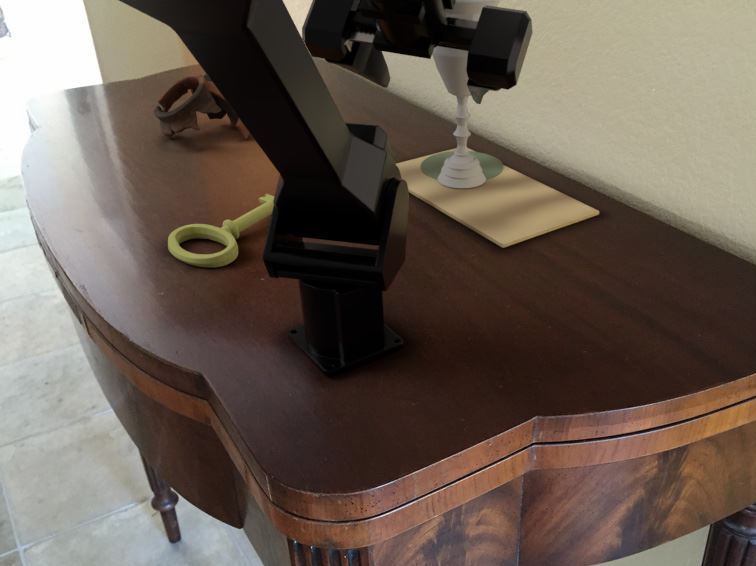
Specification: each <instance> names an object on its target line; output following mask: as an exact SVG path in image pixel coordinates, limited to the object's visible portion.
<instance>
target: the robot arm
mask: <svg viewBox="0 0 756 566" xmlns="http://www.w3.org/2000/svg"><path fill="white" fill-rule="evenodd" d="M118 1H119V2H120V3H123V4H125V5H127V6H128V7H131V8H133V9H134V10H137V11H139V12H141V13H142V14H144V15H146V16H149V17H150V18H153V19H154V20H156V21H158V22H161V23H162V24H164V25H166V26H168V27H169V28H170V29H171V30H172V31H174V33H176V35H177V37H179V39H180V40H181V42H182V43H183V44H184V46H185V47H186V49H187V50H188V51H189V53H190V54H191V55H192V57H193V58H194V60H196V62H197V63H198V65H199V66H200V68H201V69H202V70H203V72H204V73H205V74H207V75H208V77H209V78H210V80H211V81H212V82H213V84H214V85H215V86H216V88H217V89H218V90H219V92H220V93H221V94H222V96H223V97H224V99H225V100H226V101H227V103H228V104H229V105H230V107H231V108H232V109H233V111H234V112H235V113H236V115H237V116H238V118H239V119H240V120H241V122H242V123H243V124H244V126H245V127H246V128H247V130H248V131H249V135H251V137H252V138H253V140H254V141H255V142H256V143H257V145H258V146H259V148H260V149H261V150H262V152H263V153H264V154H265V156H266V157H267V159H268V160H269V161H270V163H271V164H272V166H273V167H274V168H275V169H276V171H277V172H278V173H279V176H278V181H277V185H276V188H275V192H274V195H273V196H274V200H273V203H274V206H273V211H272V214H271V216H270V221H269V225H268V230H267V234H266V238H265V244H264V248H263V253H262V262H263V264H264V266H265V269H266V271H267V274H268V276H269V278H272V279H279V278H283V279H291V280H297V281H298V289H299V296H300V304H301V313H302V321H303V324H300V325H298V326H296V327H293V328H290V329H288V331H287V332H286V334H287V338H288V340H289V341H290V342H291V343H292V344H293V345H294V346H295V347H296V348H297V349H298V350H299V351H300V352H301V353H302V354H303V355H304V356H305V357H306V358H307V359H308V360H309V361H310V362H311V363H312V364H313V365H314V366H315V367H316V368H317V370H319V371H320V372H321V373H322V374H323V375H325V376H327V377H333V376H336V375H338V374H341V373H343V372H346V371H348V370H351V369H353V368H356V367H359V366H361V365H364V364H366V363H369V362H371V361H374V360H376V359H380V358H381V357H384V356H386V355H389V354H391V353H393V352H394V353H395V352H397V351H399V350H402V349H403V348H404V346H405V345H404V344H405V343H404V339H403V337H401V336H400V335H399V334H397V333H396V332H395V331H393V330H392V329H391V328H390V327H389V326H387V324H385V315H384V295H383V292H387V291H388V290H389V288H390V287H391V285H392V283H393V282H394V280H395V278H396V277H397V274H398V273H399V272H400V270H401V269H402V267H403V265H404V263H405V261H406V254H407V253H406V251H407V235H408V221H409V207H410V193H409V191H408V185H407V182H406V181H405V180H403V179H402V178H401V174H400V170H399V168H398V167H397V165H396V164H397V163H396V162H398V154H397V153H395V152H394V151H393V149H392V147H391V144H390V141H389V137H388V133H387V132H386V131H385V130H384V129H383V128H382V127H381V126H380V125H376V124H365V123H352V122H345V120H344V118H343V116H342V114H341V112H340V110H339V107H338V106H337V104H336V103H335V100H334V98H333V96H332V95H331V93H330V90H329V88H328V86H327V84H326V83H325V80H324V78H323V77H322V75H321V73H320V71H319V69H318V67H317V65H316V63H315V61H314V59H313V58H317V59H324V61H326V63H328V64H332V65H335V66H337V67H341V68H342V69H344V70H347V71H349V72H351V73H354V74H356V75H357V76H360V77H362V78H364V79H366V80H368V81H370V82H372V83H374V84H376V85H378V86H380V87H381V88H383V89H384V88H385V89H388V87H389V86H390V85H389V84H390V81H391V75H390V70H389V66H388V63H387V61H386V59H385V57H384V53H383V52H385V53H392V54H396V55H397V54H398V55H402V56H403V55H404V56H410V57H415V58H421V59H422V58H423V59H428V60H431V59H432V57H433V55H432V53H433V50H434V48H435V47H437V46H440V47H446V48H452V49H458V50H465V51H468V57H467V67H466V71H467V75H468V78H469V79H468V82H467V86H468V89H469V91H470V93H471V98H472V100H473V101H474V103H476V105H477V104H478V105H481V104H482V102H483V98H484V96H485V95H486V94H487V93H489V91H492V92H498V91H500V90H501V89H502V90H510V89H512V88H514V87H515V86H517V85H518V81H519V78H520V75H521V72H522V69H523V65H524V62H525V59H526V55H527V52H528V48H529V45H530V43H531V39H532V35H533V21H532V18H531V16H530V15H529V13H528V12H527V10H521V9H515V8H509V7H508V8H507V7H501V6H497V7H494V6H488V5H487V6H485V7H483V8H482V11H481V14H480V17H479V20H478V21H472V20H466V19H459V18H452V17H447V16H446V11H447V9H451V10H453V8H454V5H455V2H456V0H312V1H311V4H310V7H309V9H308V12H307V15H306V17H305V19H304V22H303V25H302V27H301V33H300V32H299V30H298V27H297V26H296V24H295V22H294V20H293V18H292V16H291V13H290V12H289V10H288V8H287V6H286V4H285V2H284V0H118ZM303 239H312V240H321V241H331V242H340V243H349V244H358V245H367V246H378V248H377V249H374V248H367V247H357V246H349V245H339V244H329V243H319V242H313V241H303Z"/></svg>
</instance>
